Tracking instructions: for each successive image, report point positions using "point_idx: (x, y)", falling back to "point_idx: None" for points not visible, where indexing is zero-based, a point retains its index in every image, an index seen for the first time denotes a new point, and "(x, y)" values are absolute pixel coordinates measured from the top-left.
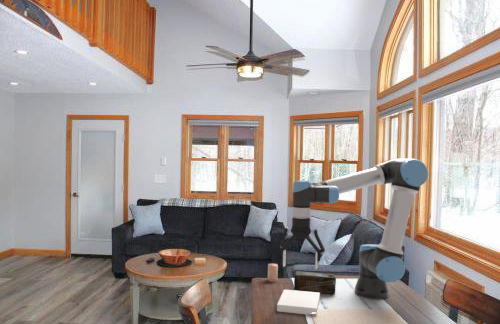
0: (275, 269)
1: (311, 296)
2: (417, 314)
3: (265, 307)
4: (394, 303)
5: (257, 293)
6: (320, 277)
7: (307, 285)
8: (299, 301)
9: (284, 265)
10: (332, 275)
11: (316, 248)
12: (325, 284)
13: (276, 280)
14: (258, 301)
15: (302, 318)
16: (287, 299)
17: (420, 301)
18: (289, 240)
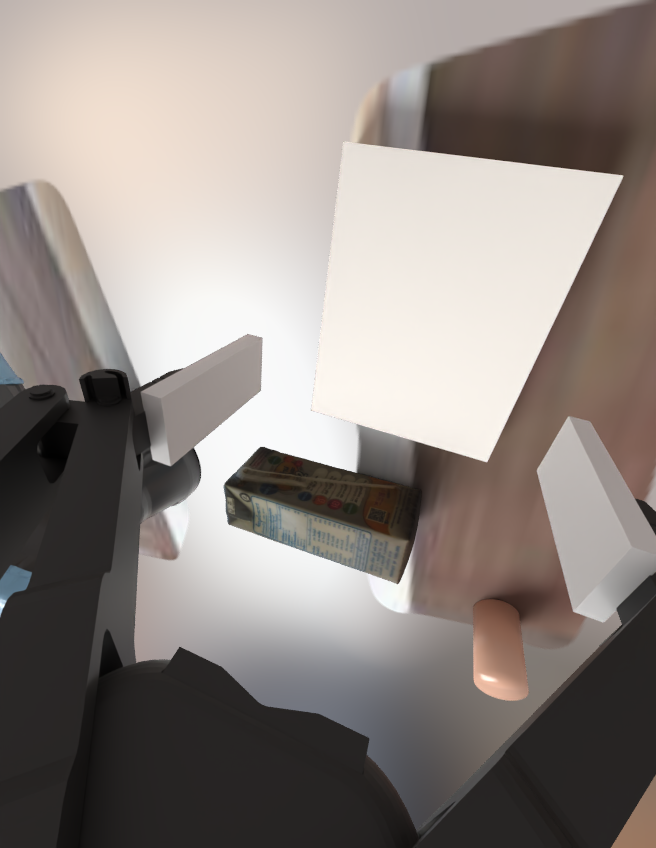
0: (489, 652)
1: (355, 357)
2: (3, 250)
3: None
4: (80, 357)
5: (635, 486)
6: (288, 501)
7: (358, 489)
8: (435, 266)
9: (574, 422)
10: (236, 513)
11: (92, 433)
12: (279, 474)
13: (480, 604)
14: None
15: (449, 78)
16: (507, 297)
17: (25, 376)
18: (605, 776)
